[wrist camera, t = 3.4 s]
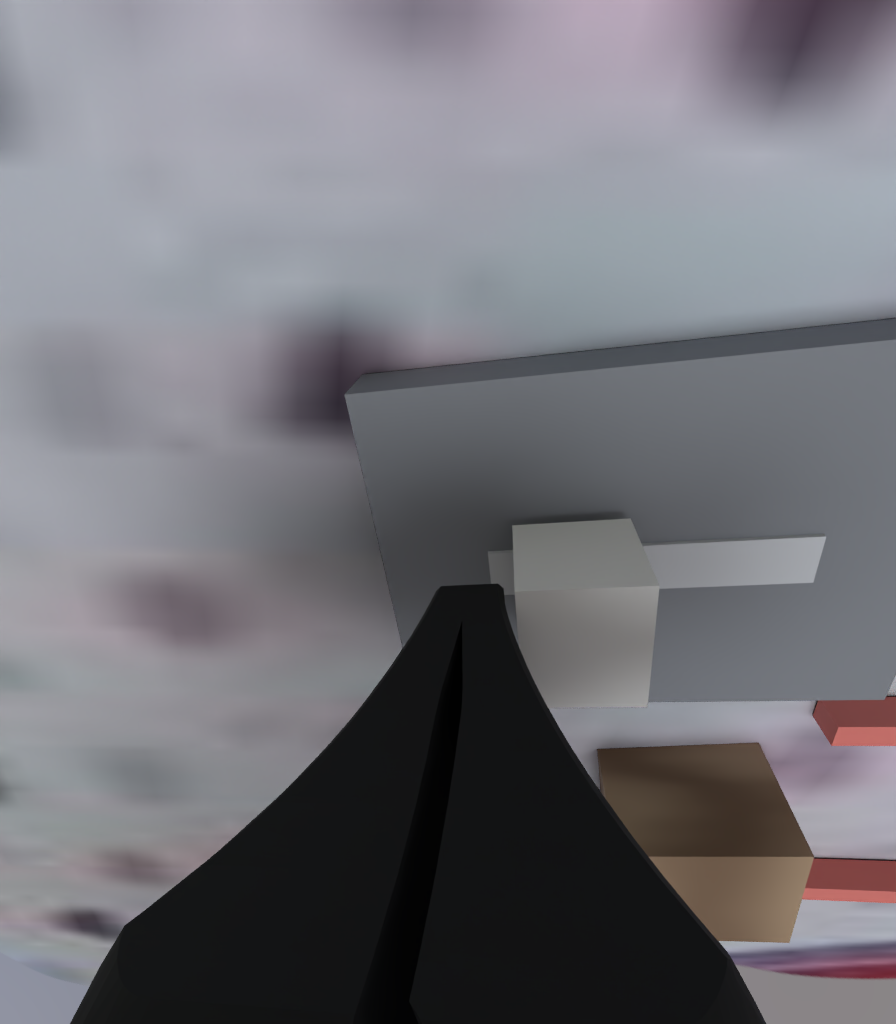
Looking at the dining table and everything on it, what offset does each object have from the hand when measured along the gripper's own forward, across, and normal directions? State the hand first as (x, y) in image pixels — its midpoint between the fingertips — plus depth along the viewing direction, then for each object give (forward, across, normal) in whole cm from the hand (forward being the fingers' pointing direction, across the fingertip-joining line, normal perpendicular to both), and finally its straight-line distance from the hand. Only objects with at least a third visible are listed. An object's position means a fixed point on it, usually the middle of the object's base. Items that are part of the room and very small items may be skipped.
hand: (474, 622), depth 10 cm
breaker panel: (+3, -4, 0) cm, 5 cm away
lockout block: (+3, -6, +11) cm, 13 cm away
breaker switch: (+1, -2, 0) cm, 2 cm away
